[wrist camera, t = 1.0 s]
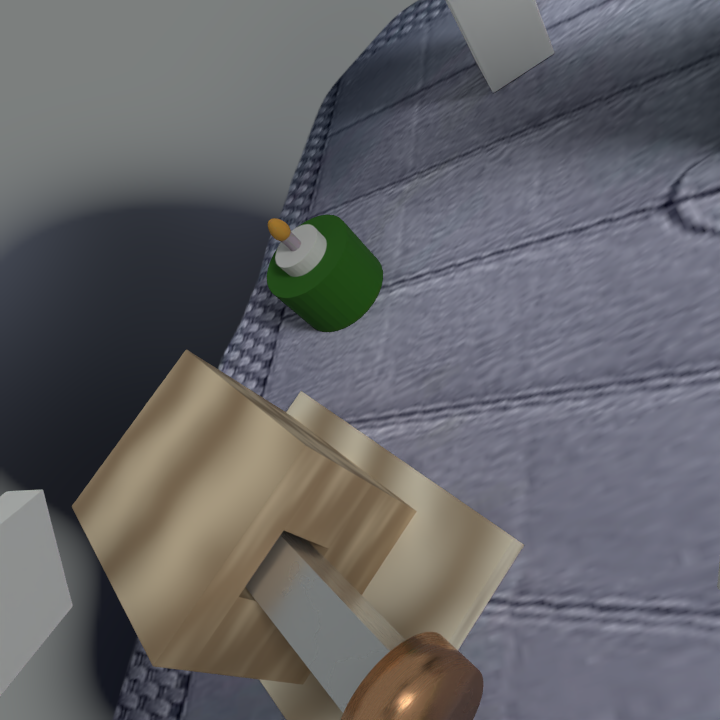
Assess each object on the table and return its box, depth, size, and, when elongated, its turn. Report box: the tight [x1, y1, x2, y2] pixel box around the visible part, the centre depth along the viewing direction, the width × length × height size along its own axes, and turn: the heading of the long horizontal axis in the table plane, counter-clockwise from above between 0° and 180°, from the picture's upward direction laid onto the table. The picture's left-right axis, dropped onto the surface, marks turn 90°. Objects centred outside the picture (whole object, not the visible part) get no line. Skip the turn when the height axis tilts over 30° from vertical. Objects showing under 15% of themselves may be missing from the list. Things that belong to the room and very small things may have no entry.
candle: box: [267, 215, 383, 332], centre depth 48 cm, size 8×8×10 cm
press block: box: [72, 350, 524, 720], centre depth 34 cm, size 21×16×12 cm
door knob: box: [245, 531, 483, 720], centre depth 28 cm, size 16×6×6 cm, turn 48°
